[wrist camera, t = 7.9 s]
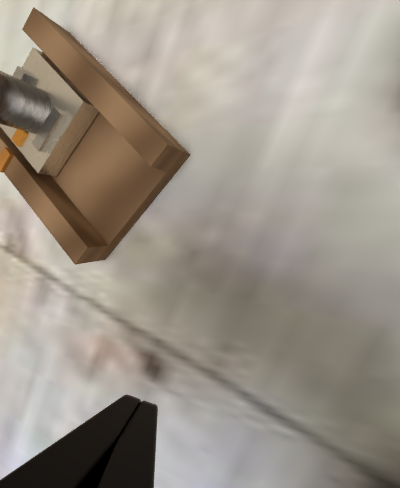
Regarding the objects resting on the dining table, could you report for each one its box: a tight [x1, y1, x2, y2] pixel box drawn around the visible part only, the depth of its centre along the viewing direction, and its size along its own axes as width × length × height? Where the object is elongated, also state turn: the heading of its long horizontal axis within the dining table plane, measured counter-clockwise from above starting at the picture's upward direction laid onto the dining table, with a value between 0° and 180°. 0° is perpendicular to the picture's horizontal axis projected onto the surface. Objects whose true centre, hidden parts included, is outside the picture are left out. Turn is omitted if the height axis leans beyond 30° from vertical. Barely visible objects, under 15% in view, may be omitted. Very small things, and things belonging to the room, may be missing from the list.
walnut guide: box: [0, 8, 190, 264], centre depth 23 cm, size 14×10×3 cm
